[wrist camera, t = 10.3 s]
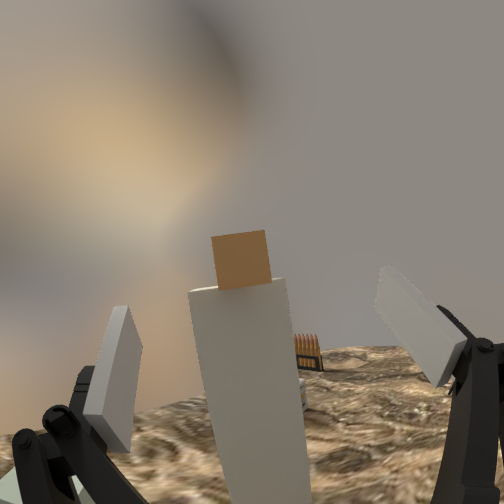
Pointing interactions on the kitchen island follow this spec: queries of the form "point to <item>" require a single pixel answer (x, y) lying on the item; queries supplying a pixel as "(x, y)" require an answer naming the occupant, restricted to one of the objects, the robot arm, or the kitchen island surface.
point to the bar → (241, 260)
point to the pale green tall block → (8, 494)
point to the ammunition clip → (308, 353)
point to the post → (253, 391)
